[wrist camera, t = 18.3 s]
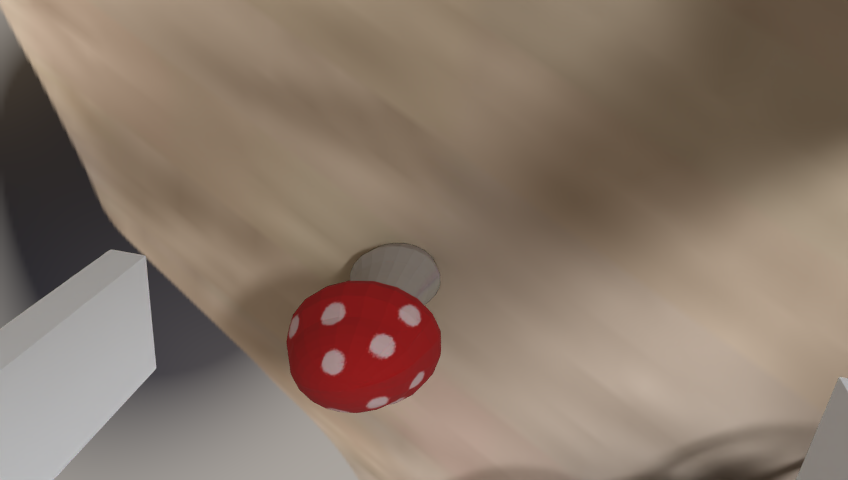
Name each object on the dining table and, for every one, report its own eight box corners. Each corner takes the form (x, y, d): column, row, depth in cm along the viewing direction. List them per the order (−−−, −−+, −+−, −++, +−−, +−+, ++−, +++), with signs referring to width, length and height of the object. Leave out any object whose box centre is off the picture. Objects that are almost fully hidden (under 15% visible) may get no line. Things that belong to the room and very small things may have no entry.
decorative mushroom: (451, 210, 50) (407, 317, 37) (473, 314, 53) (440, 447, 40) (322, 227, 53) (237, 333, 39) (351, 326, 56) (281, 455, 42)
